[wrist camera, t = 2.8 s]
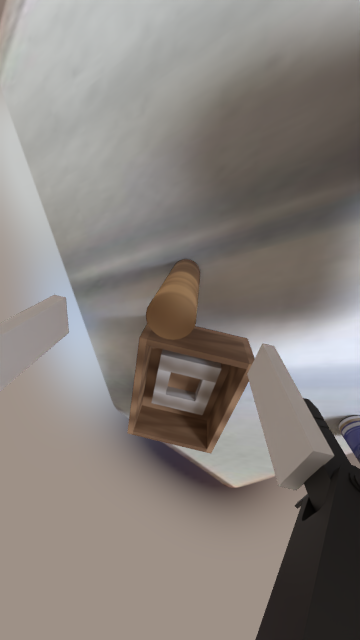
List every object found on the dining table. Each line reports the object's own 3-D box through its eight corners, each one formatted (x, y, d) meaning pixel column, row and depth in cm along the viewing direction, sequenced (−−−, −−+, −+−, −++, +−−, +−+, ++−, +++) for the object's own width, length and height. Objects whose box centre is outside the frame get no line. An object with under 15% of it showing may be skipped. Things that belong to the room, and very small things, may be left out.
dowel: (175, 256, 27) (149, 289, 15) (203, 262, 27) (201, 301, 14) (170, 283, 29) (143, 333, 16) (196, 289, 29) (189, 344, 16)
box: (151, 315, 32) (139, 337, 26) (247, 338, 32) (257, 365, 26) (138, 403, 42) (127, 433, 36) (210, 421, 42) (210, 453, 36)
